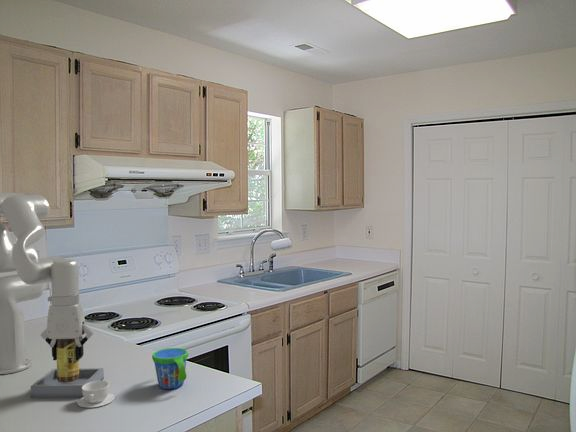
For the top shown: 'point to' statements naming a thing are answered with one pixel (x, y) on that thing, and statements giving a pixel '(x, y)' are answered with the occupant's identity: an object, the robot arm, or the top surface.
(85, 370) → the tray
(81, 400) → the teacup
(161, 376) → the snack cup
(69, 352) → the sauce bottle
